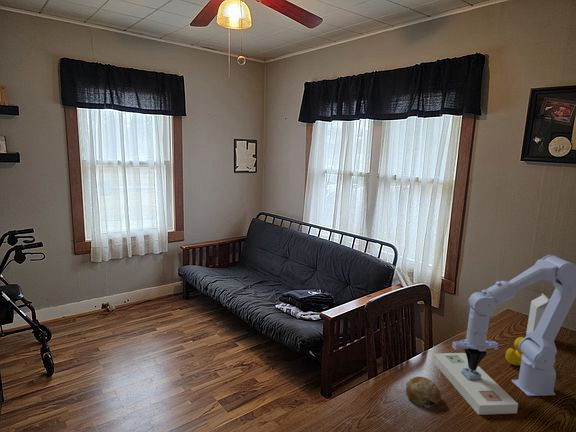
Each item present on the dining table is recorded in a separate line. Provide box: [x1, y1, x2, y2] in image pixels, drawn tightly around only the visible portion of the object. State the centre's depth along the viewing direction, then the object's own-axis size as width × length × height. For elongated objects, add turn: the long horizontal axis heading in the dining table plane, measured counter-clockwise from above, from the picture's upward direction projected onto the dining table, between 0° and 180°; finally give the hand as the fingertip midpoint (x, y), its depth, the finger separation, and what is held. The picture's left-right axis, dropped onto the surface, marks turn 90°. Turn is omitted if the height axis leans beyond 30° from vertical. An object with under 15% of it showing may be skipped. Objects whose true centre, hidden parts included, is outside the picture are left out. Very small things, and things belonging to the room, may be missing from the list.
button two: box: [447, 356, 463, 363], centre depth 132 cm, size 4×4×3 cm
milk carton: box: [525, 292, 550, 335], centre depth 153 cm, size 7×7×19 cm
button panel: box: [432, 352, 519, 416], centre depth 123 cm, size 12×28×3 cm, turn 6°
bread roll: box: [405, 376, 442, 409], centre depth 115 cm, size 10×10×8 cm
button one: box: [480, 392, 501, 401], centre depth 113 cm, size 4×4×3 cm
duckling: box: [504, 336, 525, 366], centre depth 135 cm, size 11×5×10 cm, turn 108°
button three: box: [462, 368, 481, 381], centre depth 122 cm, size 4×4×3 cm
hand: (472, 368), depth 122 cm, fingers closed
